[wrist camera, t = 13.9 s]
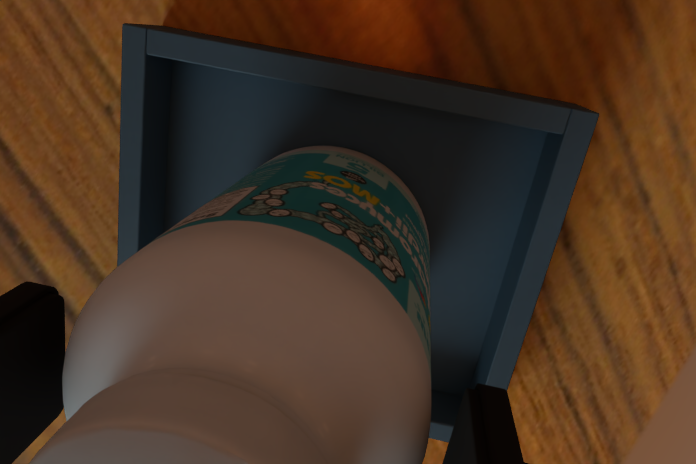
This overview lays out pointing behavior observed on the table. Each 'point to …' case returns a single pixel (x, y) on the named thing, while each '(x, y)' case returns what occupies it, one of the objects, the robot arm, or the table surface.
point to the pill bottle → (262, 329)
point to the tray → (378, 143)
